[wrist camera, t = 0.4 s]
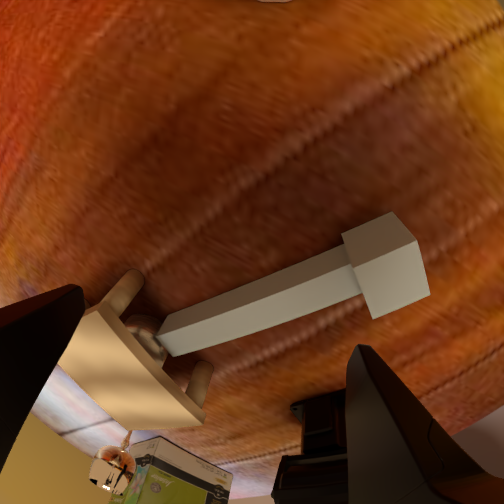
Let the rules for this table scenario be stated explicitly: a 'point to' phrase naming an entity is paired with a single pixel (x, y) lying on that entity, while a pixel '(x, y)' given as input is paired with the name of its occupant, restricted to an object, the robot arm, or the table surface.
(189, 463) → the tea box
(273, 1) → the white cup
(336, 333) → the table surface
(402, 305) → the gray hammer
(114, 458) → the wineglass
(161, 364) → the steel puck
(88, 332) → the hinoki shelf
